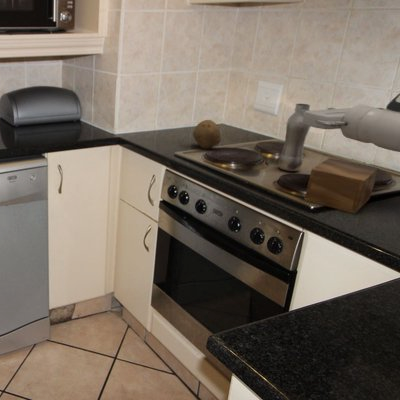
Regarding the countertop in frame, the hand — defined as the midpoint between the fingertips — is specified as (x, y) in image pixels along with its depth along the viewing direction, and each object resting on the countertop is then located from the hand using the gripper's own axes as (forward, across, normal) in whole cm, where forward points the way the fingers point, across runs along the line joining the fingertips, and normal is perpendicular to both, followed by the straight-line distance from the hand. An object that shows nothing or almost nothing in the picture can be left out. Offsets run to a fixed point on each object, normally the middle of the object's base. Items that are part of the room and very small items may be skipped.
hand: (315, 111), depth 135 cm
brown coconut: (+32, -10, -19) cm, 39 cm away
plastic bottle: (+5, 0, -19) cm, 20 cm away
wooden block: (-18, -6, -19) cm, 27 cm away
